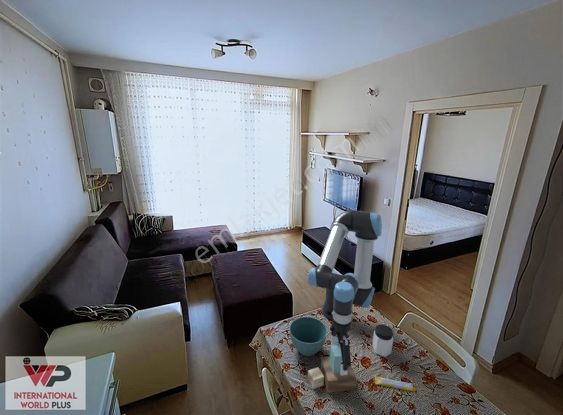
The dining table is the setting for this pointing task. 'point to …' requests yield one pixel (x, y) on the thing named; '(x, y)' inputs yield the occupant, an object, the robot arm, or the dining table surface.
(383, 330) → the jar
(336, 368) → the teal block
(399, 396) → the dining table surface
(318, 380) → the cream cube
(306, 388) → the dining table surface
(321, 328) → the plant pot
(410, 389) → the candy bar
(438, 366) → the dining table surface
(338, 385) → the walnut block
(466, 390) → the dining table surface
